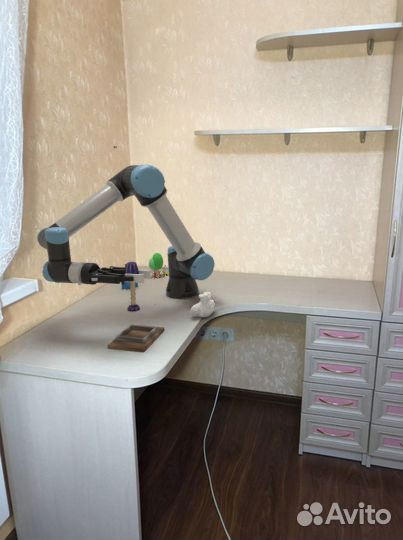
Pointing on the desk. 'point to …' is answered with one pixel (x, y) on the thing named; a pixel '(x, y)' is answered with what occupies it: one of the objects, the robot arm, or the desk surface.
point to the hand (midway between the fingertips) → (146, 276)
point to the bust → (203, 306)
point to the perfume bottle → (128, 284)
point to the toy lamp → (132, 286)
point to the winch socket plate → (136, 338)
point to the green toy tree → (157, 265)
